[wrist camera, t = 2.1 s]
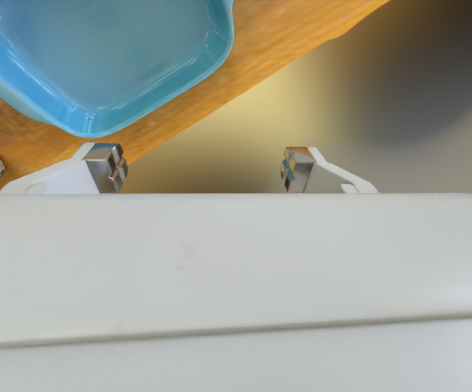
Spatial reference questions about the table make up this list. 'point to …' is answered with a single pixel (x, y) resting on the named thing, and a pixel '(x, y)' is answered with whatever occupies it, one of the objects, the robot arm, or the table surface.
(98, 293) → the robot arm
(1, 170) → the supplement can
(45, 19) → the casserole dish
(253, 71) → the table surface
